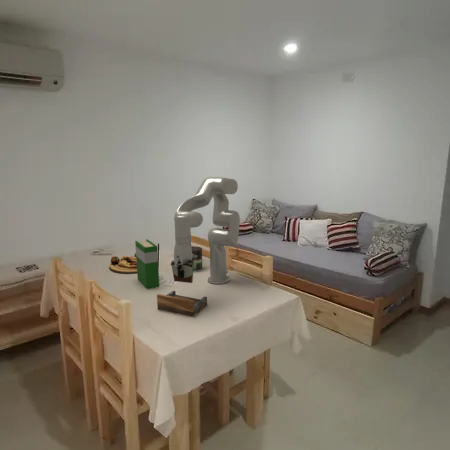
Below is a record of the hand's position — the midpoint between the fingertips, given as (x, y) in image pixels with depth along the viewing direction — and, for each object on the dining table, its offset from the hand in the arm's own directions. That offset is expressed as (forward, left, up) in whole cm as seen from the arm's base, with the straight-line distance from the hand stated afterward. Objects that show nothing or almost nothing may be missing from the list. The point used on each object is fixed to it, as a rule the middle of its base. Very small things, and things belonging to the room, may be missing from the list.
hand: (184, 275), depth 178 cm
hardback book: (-17, -36, -16) cm, 43 cm away
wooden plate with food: (-40, -64, -17) cm, 77 cm away
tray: (+2, 0, -16) cm, 16 cm away
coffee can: (-50, -23, -16) cm, 57 cm away
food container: (-1, 0, -3) cm, 3 cm away
